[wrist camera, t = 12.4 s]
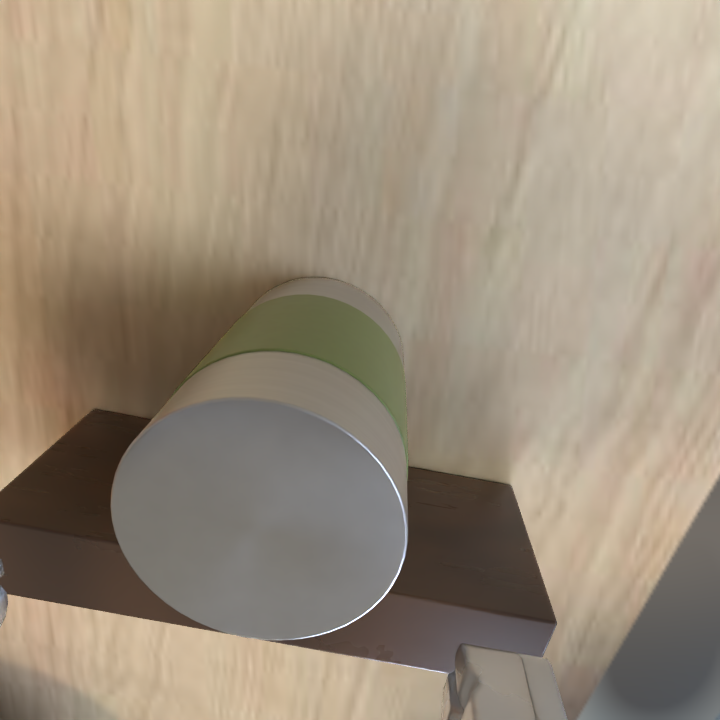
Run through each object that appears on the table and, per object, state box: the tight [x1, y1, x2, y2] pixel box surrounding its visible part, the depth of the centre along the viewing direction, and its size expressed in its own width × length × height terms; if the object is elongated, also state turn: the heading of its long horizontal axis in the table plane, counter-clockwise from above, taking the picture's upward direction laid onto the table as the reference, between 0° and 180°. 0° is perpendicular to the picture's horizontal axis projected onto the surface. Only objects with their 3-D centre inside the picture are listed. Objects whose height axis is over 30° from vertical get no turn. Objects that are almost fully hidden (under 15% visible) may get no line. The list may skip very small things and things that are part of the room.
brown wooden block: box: [0, 410, 557, 674], centre depth 20 cm, size 18×6×7 cm, turn 80°
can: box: [110, 277, 408, 640], centre depth 16 cm, size 7×7×10 cm
